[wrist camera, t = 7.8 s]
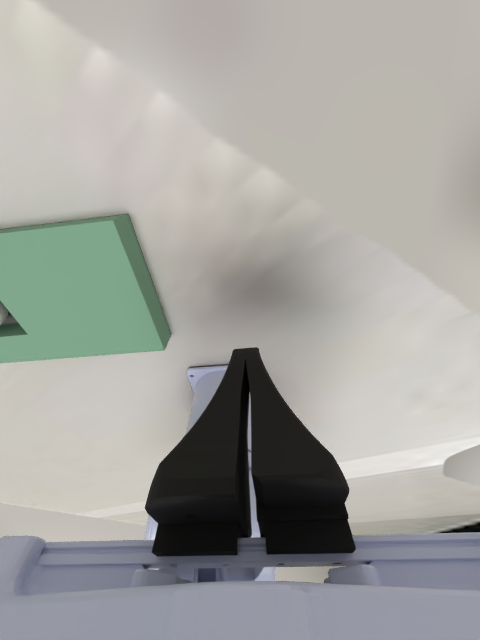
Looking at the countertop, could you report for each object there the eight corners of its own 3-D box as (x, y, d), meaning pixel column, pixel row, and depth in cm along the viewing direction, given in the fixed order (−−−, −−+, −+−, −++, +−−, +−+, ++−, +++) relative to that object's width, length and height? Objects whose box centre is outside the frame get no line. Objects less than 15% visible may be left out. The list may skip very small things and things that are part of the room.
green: (171, 334, 24) (164, 350, 22) (8, 348, 25) (-13, 364, 23) (128, 214, 17) (112, 220, 15) (-91, 240, 19) (-133, 249, 17)
